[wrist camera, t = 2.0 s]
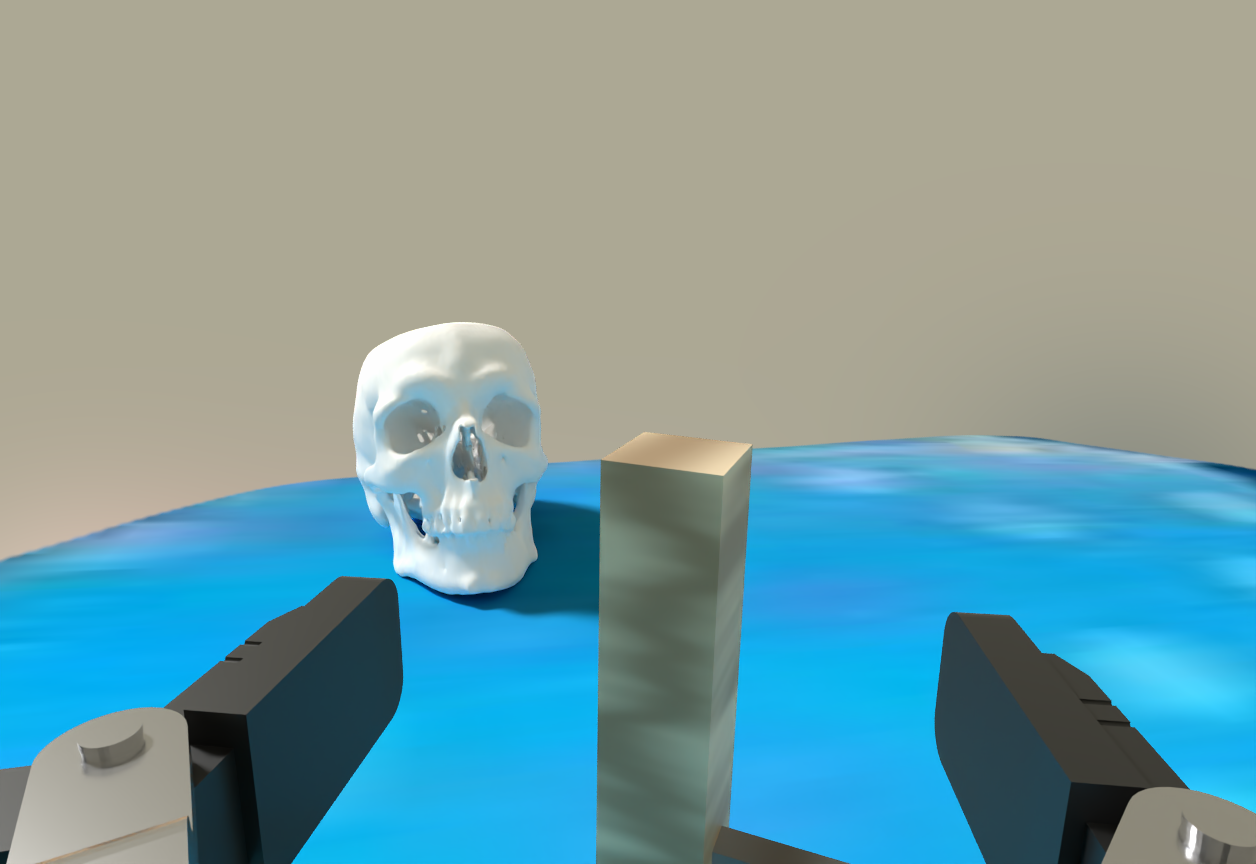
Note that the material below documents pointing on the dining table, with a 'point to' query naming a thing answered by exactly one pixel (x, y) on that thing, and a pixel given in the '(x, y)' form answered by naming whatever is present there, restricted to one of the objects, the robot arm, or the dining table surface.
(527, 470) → the skull planter
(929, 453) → the dining table surface
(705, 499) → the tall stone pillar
